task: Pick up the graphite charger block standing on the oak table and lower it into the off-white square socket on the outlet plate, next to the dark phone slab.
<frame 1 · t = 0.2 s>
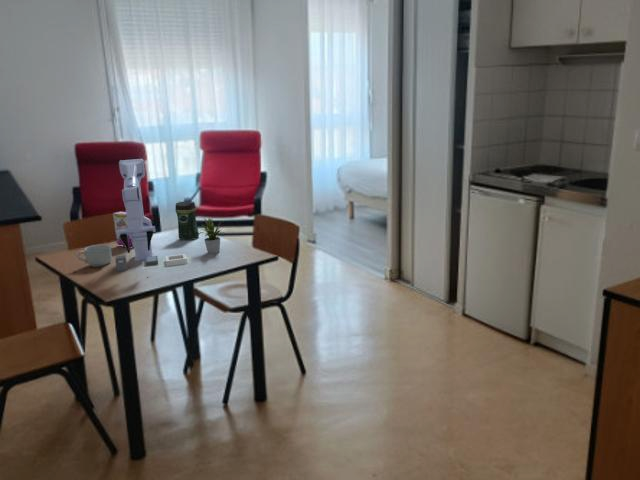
hand: (138, 251, 237), 10 cm above the table, fingers open, 7 cm apart
phone slab: (151, 262, 254), point 1 cm above the table, touching outlet plate
outlet plate: (166, 263, 254), on the table
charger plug: (122, 270, 246), on the table
house plant: (211, 252, 269), on the table
teacup: (96, 266, 257), on the table
coffee jar: (189, 238, 298), on the table
candy bar box: (128, 246, 288), on the table
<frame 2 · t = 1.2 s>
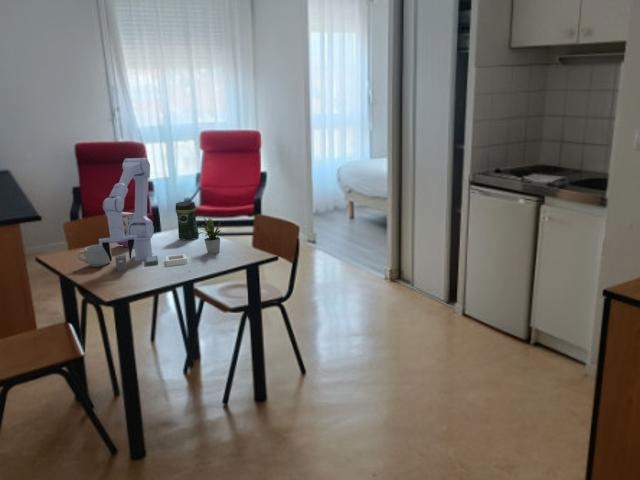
hand: (120, 259, 245), 5 cm above the table, fingers open, 7 cm apart
nothing on the table moved.
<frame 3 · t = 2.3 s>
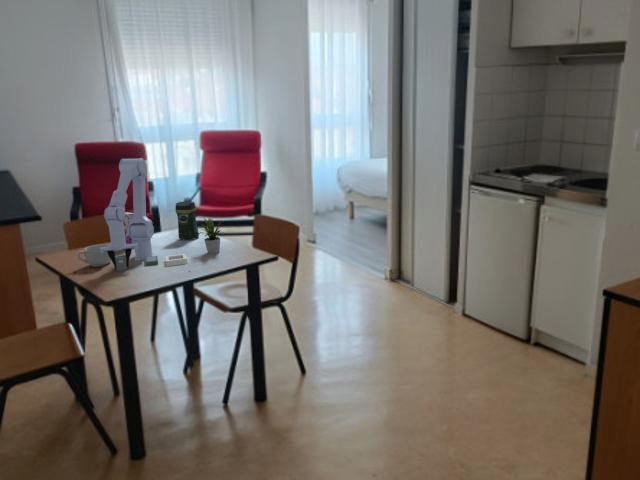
hand: (121, 267, 246), 1 cm above the table, fingers closed on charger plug, 4 cm apart
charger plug: (122, 270, 246), on the table, touching gripper
everything else where it was.
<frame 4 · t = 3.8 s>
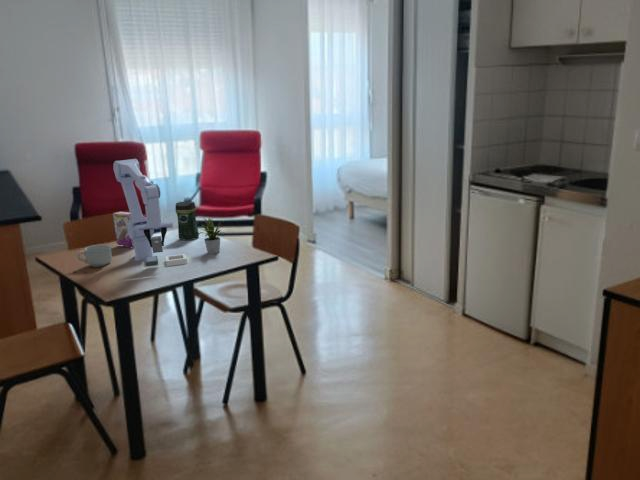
hand: (157, 246, 249), 8 cm above the table, fingers closed on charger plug, 4 cm apart
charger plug: (157, 251, 250), point 6 cm above the table, touching gripper
everything else where it was.
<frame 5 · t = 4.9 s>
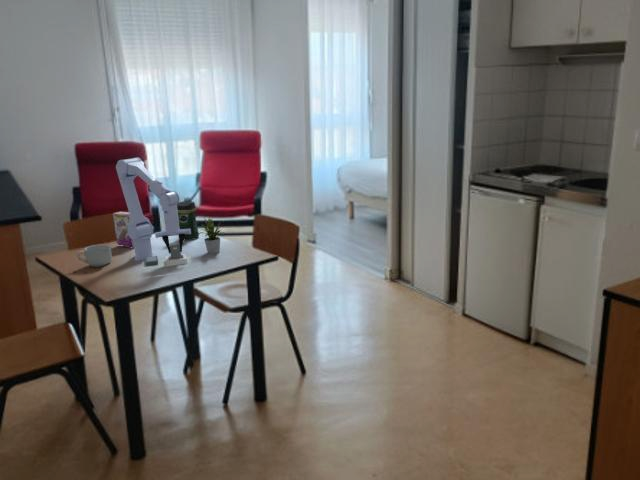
hand: (175, 252, 252), 5 cm above the table, fingers closed on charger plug, 4 cm apart
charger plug: (176, 257, 253), point 2 cm above the table, touching gripper
everything else where it was.
when the fingers open (3 cm above the table, at t = 5.6 s): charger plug stays where it is, resting on outlet plate.
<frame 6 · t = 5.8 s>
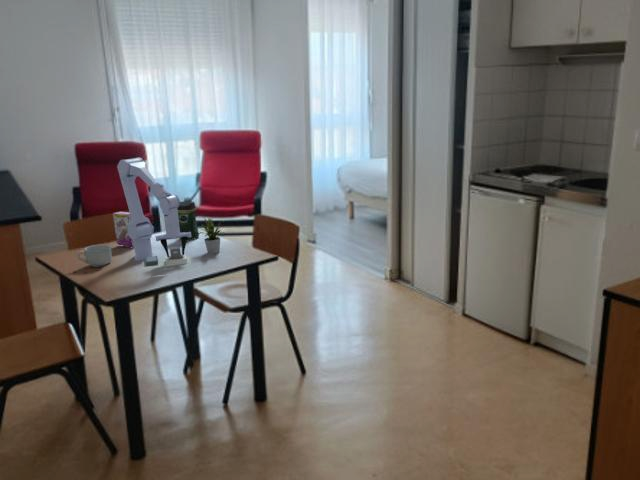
hand: (175, 255, 252), 3 cm above the table, fingers open, 6 cm apart
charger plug: (176, 261, 253), point 1 cm above the table, touching outlet plate
everything else where it was.
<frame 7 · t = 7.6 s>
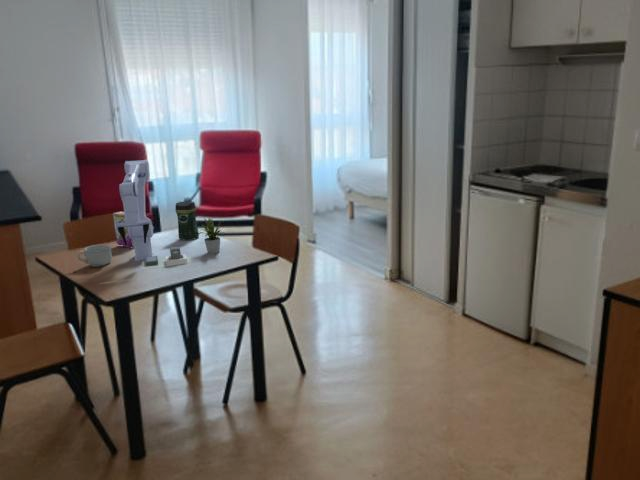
hand: (135, 243, 247), 10 cm above the table, fingers open, 7 cm apart
nothing on the table moved.
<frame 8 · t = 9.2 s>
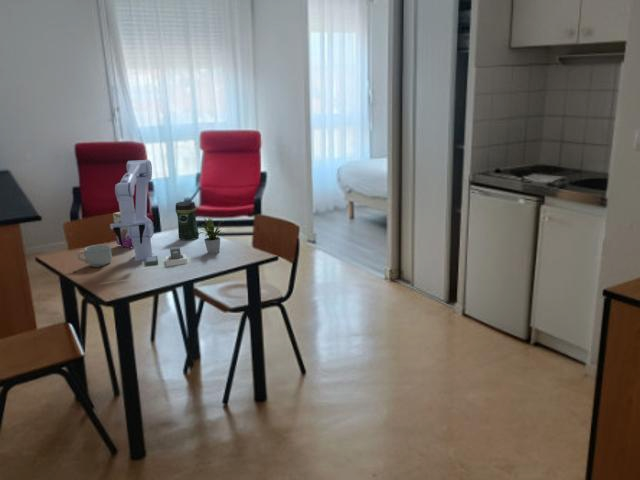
hand: (131, 244, 247), 10 cm above the table, fingers open, 7 cm apart
nothing on the table moved.
at the end: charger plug 0.1 cm from the target spot on the outlet plate, point 0.7 cm above the outlet plate's base; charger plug tilted 0°; the gripper is holding nothing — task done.
